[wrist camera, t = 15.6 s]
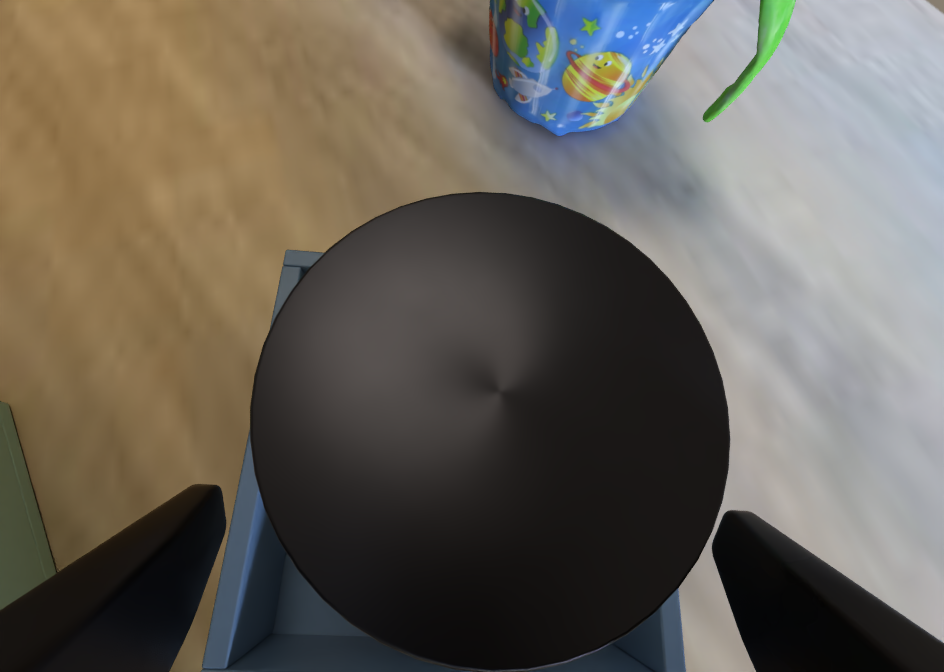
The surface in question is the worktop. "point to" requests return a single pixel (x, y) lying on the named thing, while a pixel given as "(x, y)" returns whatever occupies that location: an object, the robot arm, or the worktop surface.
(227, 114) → the worktop surface
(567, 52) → the snack cup
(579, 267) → the travel mug
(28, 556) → the tray
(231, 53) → the worktop surface
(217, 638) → the basin
